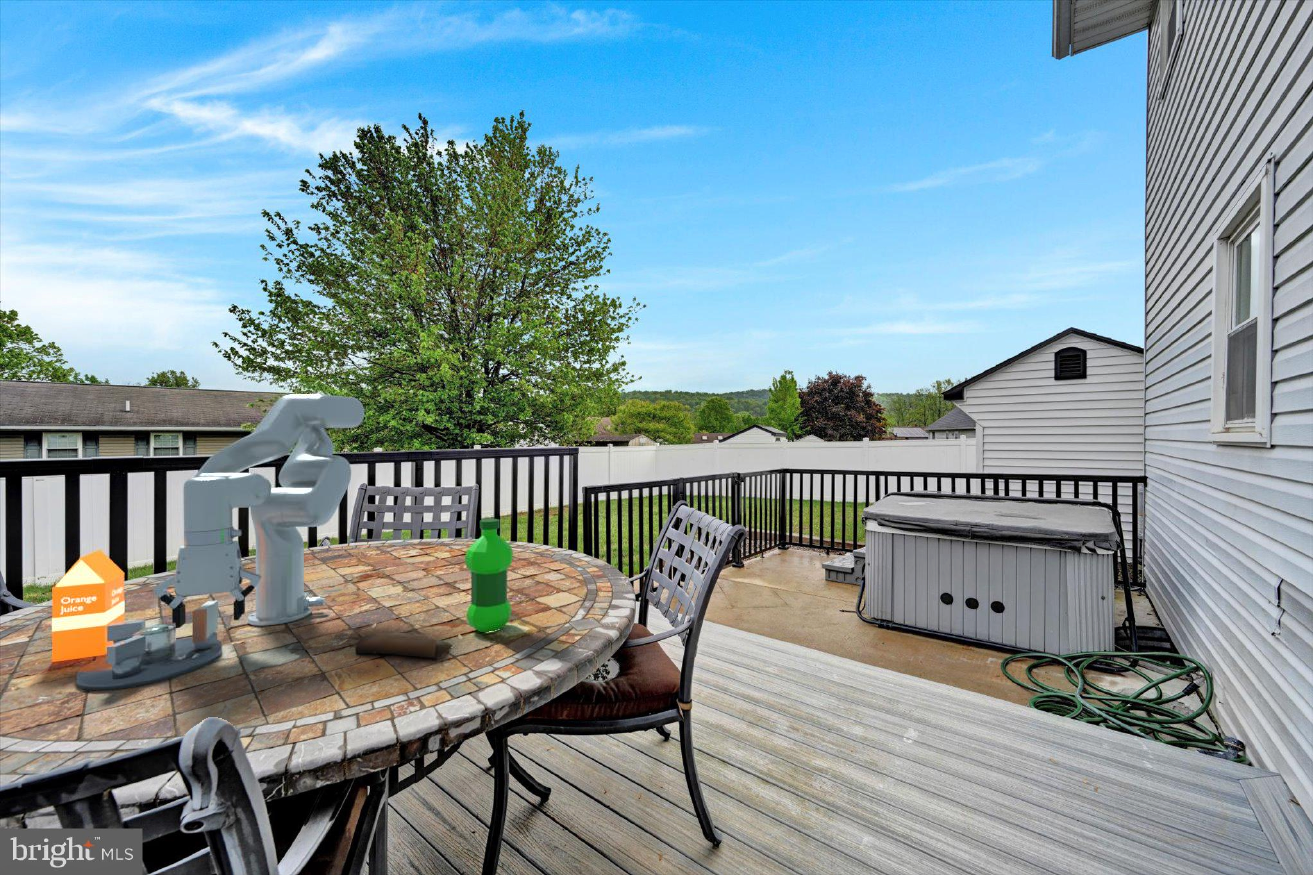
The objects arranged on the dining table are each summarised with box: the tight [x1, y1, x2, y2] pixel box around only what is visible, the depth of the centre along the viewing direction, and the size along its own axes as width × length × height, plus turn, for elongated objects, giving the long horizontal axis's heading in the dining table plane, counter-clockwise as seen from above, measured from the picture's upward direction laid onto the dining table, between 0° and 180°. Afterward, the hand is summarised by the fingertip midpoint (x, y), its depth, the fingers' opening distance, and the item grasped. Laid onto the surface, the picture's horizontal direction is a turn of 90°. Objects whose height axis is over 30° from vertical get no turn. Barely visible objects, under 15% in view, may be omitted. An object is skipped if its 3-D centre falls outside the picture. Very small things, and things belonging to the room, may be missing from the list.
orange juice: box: [51, 549, 125, 663], centre depth 107 cm, size 8×9×20 cm
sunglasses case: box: [354, 631, 454, 661], centre depth 107 cm, size 18×7×7 cm, turn 81°
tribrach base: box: [76, 619, 223, 692], centre depth 100 cm, size 20×20×8 cm
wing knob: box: [191, 600, 219, 649], centre depth 106 cm, size 7×4×8 cm, turn 23°
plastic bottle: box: [464, 518, 514, 632], centre depth 119 cm, size 10×10×25 cm
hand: (209, 621), depth 106 cm, fingers open, 8 cm apart
